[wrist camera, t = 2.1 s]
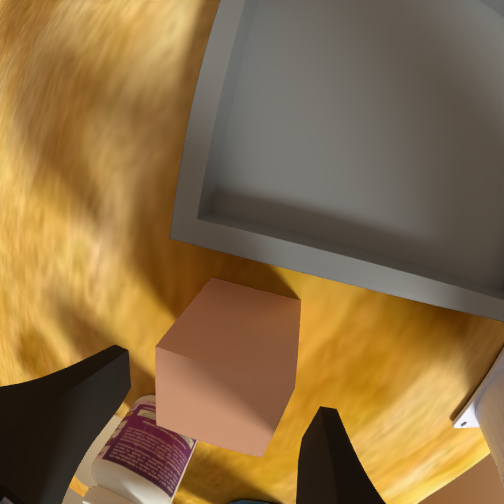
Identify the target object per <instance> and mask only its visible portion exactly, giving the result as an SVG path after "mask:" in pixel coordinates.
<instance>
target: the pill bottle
mask: <svg viewBox="0 0 504 504" xmlns="http://www.w3.org/2000/svg"><path fill="white" fill-rule="evenodd" d="M197 442H198V440H196V439H193V438H190V437H187V436H184V435H181V434H179V433H176V432H173V431H171V430H168V429H165V428H163V427H160V426H158V425H157V424H156V395H146V396H143V397H140V398H139V399H137V400H136V402H135V403H134V404H133V406H132V407H131V409H130V410H129V411H128V413H127V414H126V416H125V417H124V419H123V420H122V421H121V423H120V424H119V426H118V427H117V429H116V430H115V431H114V433H113V434H112V435H111V437H110V439H109V440H108V441H107V443H106V444H105V446H104V447H103V448H102V450H101V451H100V453H99V454H98V456H97V457H96V459H95V460H94V462H93V464H92V467H91V472H92V476H93V478H94V480H95V482H96V483H97V486H92V487H91V488H89V489H88V491H87V493H86V494H85V496H84V498H83V500H82V502H83V503H84V504H171V503H172V501H173V498H174V496H175V494H176V491H177V489H178V487H179V484H180V482H181V480H182V477H183V475H184V472H185V470H186V468H187V465H188V463H189V460H190V458H191V456H192V454H193V451H194V449H195V446H196V444H197Z"/></svg>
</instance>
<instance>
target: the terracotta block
mask: <svg viewBox="0 0 504 504" xmlns="http://www.w3.org/2000/svg"><path fill="white" fill-rule="evenodd" d="M300 311H301V300H298V299H294V298H290V297H286V296H282V295H278V294H274V293H270V292H266V291H262V290H258V289H254V288H251V287H247V286H243V285H239V284H236V283H232V282H228V281H225V280H221V279H217V278H214V277H211V278H210V280H209V281H208V282H207V283H206V284H205V286H204V287H203V288H202V289H201V291H200V292H199V293H198V294H197V296H196V297H195V298H194V299H193V300H192V302H191V303H190V304H189V305H188V307H187V308H186V309H185V310H184V312H183V313H182V314H181V315H180V317H179V318H178V319H177V320H176V322H175V323H174V324H173V325H172V326H171V328H170V329H169V330H168V331H167V333H166V334H165V335H164V336H163V338H162V339H161V340H160V341H159V343H158V344H157V345H156V358H155V390H156V424H157V425H158V426H160V427H163V428H165V429H168V430H171V431H173V432H176V433H179V434H181V435H184V436H187V437H190V438H193V439H196V440H199V441H202V442H205V443H209V444H212V445H215V446H219V447H222V448H226V449H229V450H233V451H237V452H241V453H245V454H249V455H253V456H258V457H262V456H263V454H264V452H265V450H266V448H267V446H268V444H269V442H270V440H271V438H272V436H273V434H274V432H275V430H276V428H277V426H278V424H279V421H280V419H281V417H282V415H283V413H284V411H285V408H286V406H287V404H288V402H289V399H290V397H291V395H292V393H293V390H294V388H295V380H296V369H297V356H298V343H299V328H300Z"/></svg>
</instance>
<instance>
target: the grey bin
mask: <svg viewBox="0 0 504 504" xmlns="http://www.w3.org/2000/svg"><path fill="white" fill-rule="evenodd" d="M170 239H173V240H177V241H181V242H185V243H188V244H192V245H196V246H200V247H204V248H208V249H212V250H215V251H219V252H223V253H227V254H231V255H235V256H239V257H243V258H247V259H250V260H254V261H258V262H262V263H266V264H270V265H274V266H278V267H282V268H286V269H290V270H294V271H298V272H302V273H306V274H310V275H314V276H318V277H322V278H326V279H330V280H334V281H338V282H342V283H346V284H350V285H354V286H358V287H362V288H366V289H370V290H374V291H378V292H382V293H386V294H390V295H394V296H398V297H402V298H406V299H411V300H415V301H419V302H423V303H427V304H431V305H435V306H439V307H444V308H448V309H452V310H456V311H460V312H465V313H469V314H473V315H477V316H481V317H486V318H490V319H494V320H498V321H503V322H504V0H220V3H219V6H218V9H217V13H216V16H215V19H214V22H213V26H212V29H211V32H210V36H209V39H208V43H207V46H206V50H205V54H204V58H203V61H202V65H201V69H200V73H199V77H198V81H197V85H196V90H195V94H194V98H193V103H192V107H191V112H190V116H189V121H188V126H187V131H186V136H185V141H184V147H183V152H182V158H181V163H180V169H179V175H178V181H177V188H176V194H175V201H174V208H173V215H172V223H171V231H170Z"/></svg>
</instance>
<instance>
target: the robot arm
mask: <svg viewBox="0 0 504 504" xmlns="http://www.w3.org/2000/svg"><path fill="white" fill-rule="evenodd" d="M130 388H131V380H130V367H129V351H128V350H127V349H124V348H122V347H120V346H117V345H113V346H111V347H109V348H107V349H105V350H103V351H101V352H99V353H97V354H95V355H93V356H91V357H89V358H87V359H85V360H82V361H80V362H78V363H76V364H74V365H72V366H69V367H67V368H65V369H62V370H60V371H57V372H55V373H52V374H49V375H47V376H44V377H41V378H38V379H35V380H31V381H27V382H23V383H19V384H13V385H8V386H2V387H0V504H61V503H62V501H63V498H64V496H65V493H66V491H67V489H68V487H69V484H70V482H71V480H72V478H73V476H74V474H75V472H76V470H77V468H78V466H79V464H80V463H81V461H82V459H83V457H84V455H85V453H86V452H87V450H88V449H89V447H90V446H91V444H92V442H93V441H94V440H95V438H96V437H97V436H98V435H99V434H100V432H101V431H102V430H103V428H104V427H105V426H106V424H107V423H108V422H109V420H110V419H111V418H112V417H113V415H114V414H115V413H116V411H117V410H118V408H119V407H120V406H121V404H122V402H123V400H124V399H125V397H126V395H127V393H128V391H129V389H130ZM452 425H453V427H454V428H468V427H480V428H481V431H482V433H483V435H484V437H485V440H486V442H487V444H488V447H489V449H490V452H491V454H492V457H493V459H494V461H495V464H496V467H497V470H498V472H499V475H500V478H501V481H502V484H503V487H504V348H503V349H502V351H501V353H500V355H499V356H498V358H497V360H496V361H495V363H494V365H493V366H492V368H491V369H490V371H489V373H488V374H487V376H486V377H485V379H484V380H483V382H482V383H481V385H480V386H479V388H478V389H477V390H476V392H475V393H474V395H473V396H472V397H471V399H470V400H469V401H468V403H467V404H466V405H465V407H464V408H463V409H462V411H461V412H460V413H459V414H458V416H457V417H456V418H455V419H454V421H453V422H452ZM296 504H386V503H385V502H384V501H383V499H382V498H381V496H380V495H379V493H378V492H377V491H376V489H375V487H374V486H373V484H372V483H371V481H370V479H369V478H368V476H367V474H366V472H365V470H364V469H363V467H362V465H361V463H360V461H359V459H358V457H357V455H356V453H355V451H354V449H353V446H352V444H351V442H350V440H349V437H348V435H347V433H346V430H345V428H344V426H343V423H342V421H341V418H340V416H339V413H338V411H337V409H334V408H327V407H321V406H320V408H319V409H318V411H317V413H316V415H315V417H314V418H313V420H312V422H311V424H310V425H309V427H308V429H307V430H306V432H305V434H304V435H303V437H302V442H301V447H300V453H299V459H298V476H297V495H296Z"/></svg>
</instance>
